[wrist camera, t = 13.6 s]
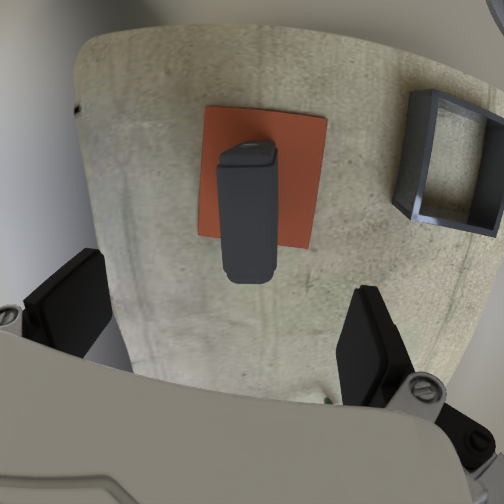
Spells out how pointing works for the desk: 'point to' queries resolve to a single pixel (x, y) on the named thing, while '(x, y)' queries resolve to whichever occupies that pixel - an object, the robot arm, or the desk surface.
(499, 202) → the grey open bin
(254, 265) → the card reader
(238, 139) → the mat
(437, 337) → the desk surface
